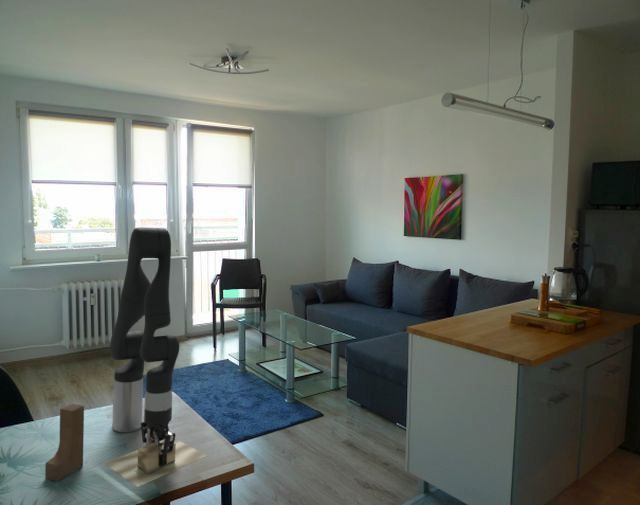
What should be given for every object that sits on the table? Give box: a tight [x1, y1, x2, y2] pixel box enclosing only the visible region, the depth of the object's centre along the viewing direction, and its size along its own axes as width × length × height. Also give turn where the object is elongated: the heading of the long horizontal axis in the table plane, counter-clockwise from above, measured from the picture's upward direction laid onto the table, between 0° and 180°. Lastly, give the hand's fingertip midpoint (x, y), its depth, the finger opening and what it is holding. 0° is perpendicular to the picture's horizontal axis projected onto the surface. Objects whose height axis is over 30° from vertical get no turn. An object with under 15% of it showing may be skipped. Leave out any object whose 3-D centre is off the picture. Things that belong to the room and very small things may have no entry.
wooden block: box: [44, 403, 85, 482], centre depth 131 cm, size 9×4×18 cm, turn 162°
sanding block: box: [137, 440, 176, 474], centre depth 136 cm, size 5×9×6 cm, turn 143°
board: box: [103, 438, 208, 488], centre depth 139 cm, size 18×23×1 cm
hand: (156, 461), depth 136 cm, fingers closed on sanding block, 5 cm apart
